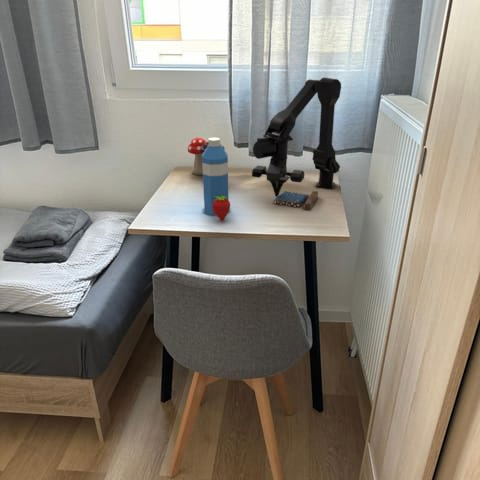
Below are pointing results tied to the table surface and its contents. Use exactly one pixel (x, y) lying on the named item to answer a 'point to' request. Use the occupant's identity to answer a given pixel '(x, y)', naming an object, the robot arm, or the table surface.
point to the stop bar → (311, 200)
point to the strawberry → (221, 207)
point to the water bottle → (214, 173)
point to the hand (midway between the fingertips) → (276, 196)
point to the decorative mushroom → (197, 154)
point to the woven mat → (291, 198)
